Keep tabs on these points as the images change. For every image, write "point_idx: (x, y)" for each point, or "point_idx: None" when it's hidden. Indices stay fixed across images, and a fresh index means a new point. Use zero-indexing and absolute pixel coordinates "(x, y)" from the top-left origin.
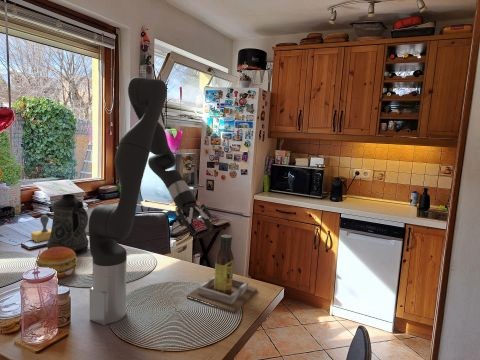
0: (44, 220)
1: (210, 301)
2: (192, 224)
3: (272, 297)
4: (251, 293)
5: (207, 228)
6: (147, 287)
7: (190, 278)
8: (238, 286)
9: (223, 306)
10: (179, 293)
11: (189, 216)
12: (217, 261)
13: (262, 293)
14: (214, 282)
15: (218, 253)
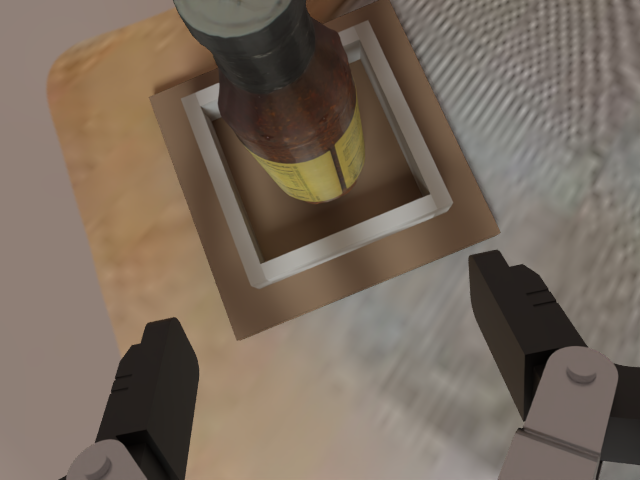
0: None
1: (432, 115)
2: (519, 338)
3: (145, 19)
4: (212, 71)
5: (193, 392)
6: (632, 474)
7: (351, 428)
8: (220, 149)
9: (407, 47)
10: None
11: (587, 457)
12: (352, 94)
13: (152, 71)
14: (359, 164)
15: (336, 75)
